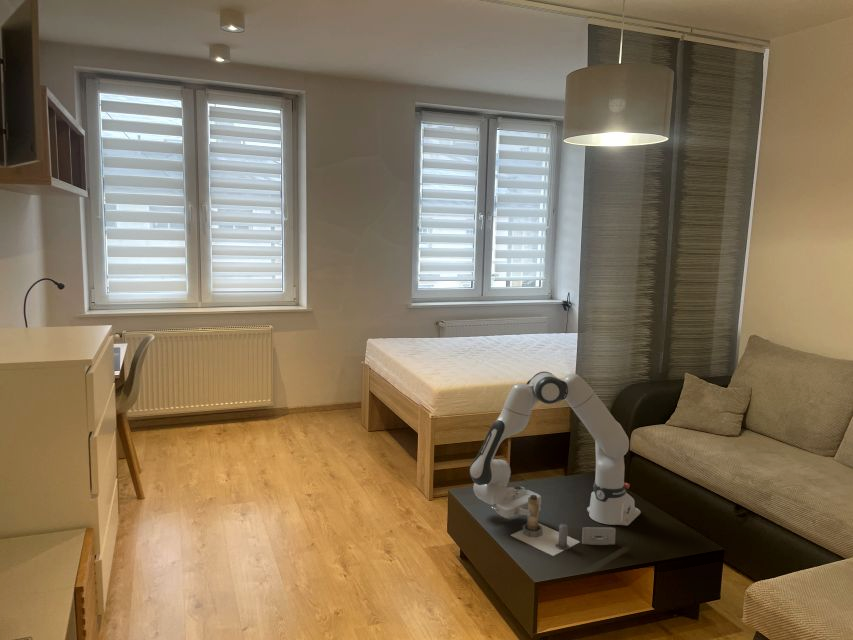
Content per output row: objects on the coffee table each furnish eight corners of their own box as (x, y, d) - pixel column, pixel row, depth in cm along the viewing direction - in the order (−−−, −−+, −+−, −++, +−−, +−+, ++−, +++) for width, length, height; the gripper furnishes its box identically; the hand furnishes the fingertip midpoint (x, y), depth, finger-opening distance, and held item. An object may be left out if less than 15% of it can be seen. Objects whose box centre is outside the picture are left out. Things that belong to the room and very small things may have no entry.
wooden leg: (531, 525, 247) (533, 493, 245) (540, 529, 244) (541, 496, 242) (524, 528, 244) (526, 495, 242) (533, 532, 241) (534, 499, 239)
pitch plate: (537, 526, 252) (538, 503, 251) (581, 546, 237) (582, 521, 236) (510, 538, 242) (510, 514, 241) (554, 560, 227) (555, 534, 225)
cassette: (582, 548, 235) (583, 528, 234) (581, 546, 237) (582, 526, 236) (615, 549, 236) (616, 529, 234) (613, 546, 237) (614, 526, 236)
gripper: (489, 499, 245) (516, 511, 235) (524, 485, 259) (552, 496, 248) (488, 514, 246) (516, 527, 236) (524, 500, 259) (551, 512, 249)
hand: (535, 511), depth 242 cm, fingers closed on wooden leg, 4 cm apart
